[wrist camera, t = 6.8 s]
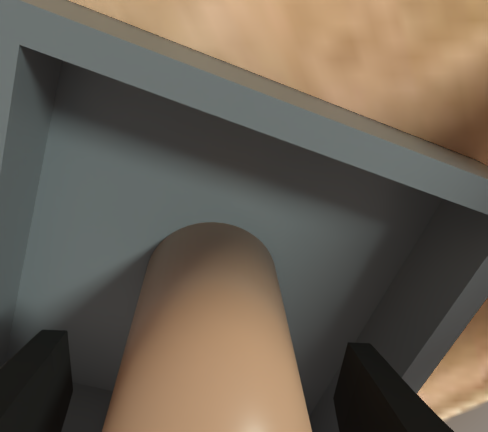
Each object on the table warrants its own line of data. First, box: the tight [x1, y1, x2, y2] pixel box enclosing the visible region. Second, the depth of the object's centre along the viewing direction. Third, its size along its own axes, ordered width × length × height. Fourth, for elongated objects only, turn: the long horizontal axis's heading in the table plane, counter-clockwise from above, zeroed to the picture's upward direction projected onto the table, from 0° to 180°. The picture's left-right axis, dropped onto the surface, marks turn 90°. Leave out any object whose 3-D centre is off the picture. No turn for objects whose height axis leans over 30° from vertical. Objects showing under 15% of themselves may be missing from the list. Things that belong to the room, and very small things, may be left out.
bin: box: [0, 0, 488, 432], centre depth 14 cm, size 14×14×4 cm
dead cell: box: [102, 222, 312, 432], centre depth 11 cm, size 4×4×9 cm
